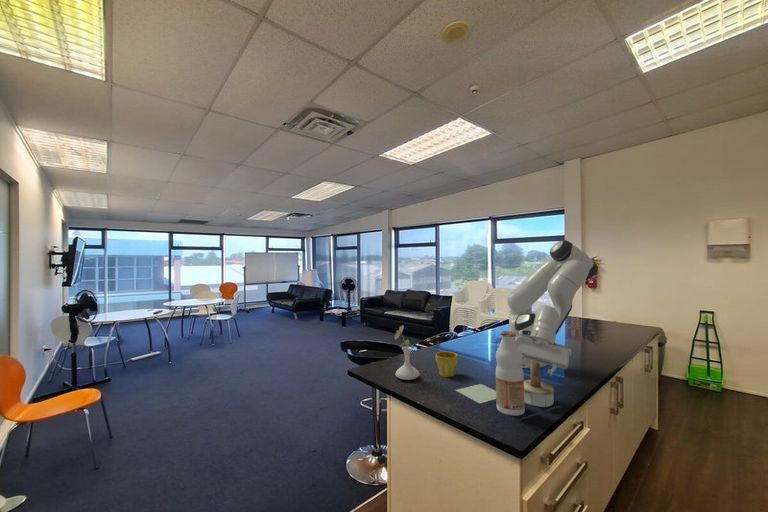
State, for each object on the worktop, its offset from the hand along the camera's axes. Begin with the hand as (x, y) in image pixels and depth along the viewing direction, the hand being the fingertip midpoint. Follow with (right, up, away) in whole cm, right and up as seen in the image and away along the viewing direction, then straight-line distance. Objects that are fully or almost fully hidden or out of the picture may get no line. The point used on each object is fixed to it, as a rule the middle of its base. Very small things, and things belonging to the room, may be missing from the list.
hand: (535, 370), depth 117 cm
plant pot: (-28, -13, +29) cm, 42 cm away
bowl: (0, -12, -1) cm, 12 cm away
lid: (0, -7, -1) cm, 7 cm away
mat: (-19, -12, +7) cm, 24 cm away
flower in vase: (-48, -13, +26) cm, 56 cm away
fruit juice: (-13, -12, -8) cm, 19 cm away
